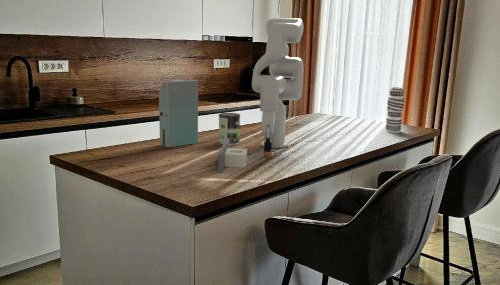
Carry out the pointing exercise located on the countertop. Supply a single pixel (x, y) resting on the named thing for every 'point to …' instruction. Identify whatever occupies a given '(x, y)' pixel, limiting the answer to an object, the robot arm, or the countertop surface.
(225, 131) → the coffee can
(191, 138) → the device
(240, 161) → the socket block
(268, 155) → the dowel
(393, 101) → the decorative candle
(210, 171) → the countertop surface
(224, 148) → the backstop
